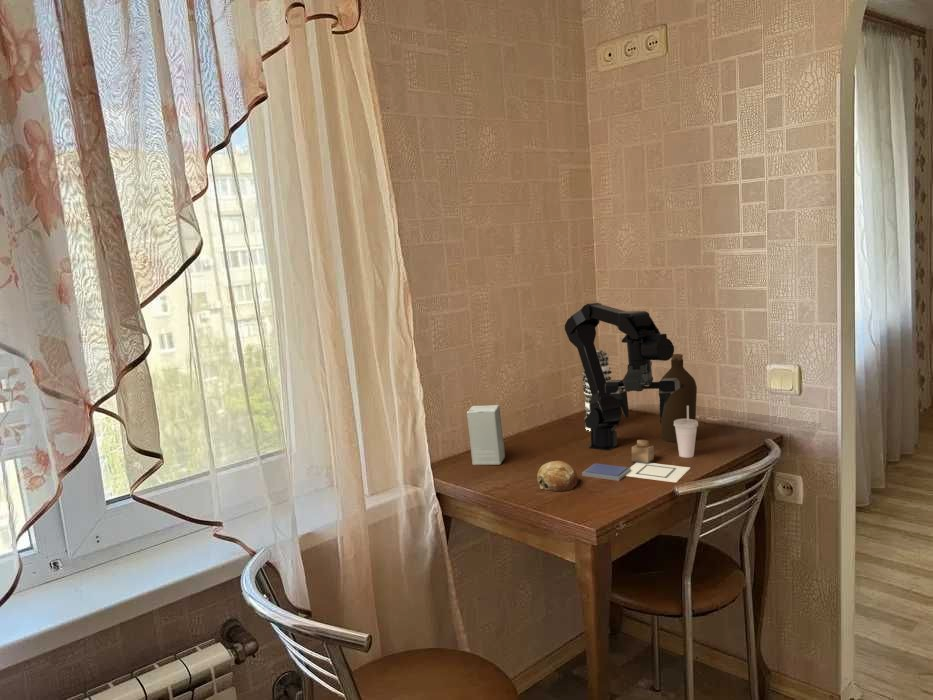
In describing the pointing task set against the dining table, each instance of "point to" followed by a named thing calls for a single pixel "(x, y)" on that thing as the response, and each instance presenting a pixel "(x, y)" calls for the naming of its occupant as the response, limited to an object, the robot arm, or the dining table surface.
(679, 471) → the sheet
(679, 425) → the smoothie
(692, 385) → the olive oil
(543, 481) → the bread roll
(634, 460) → the stamp
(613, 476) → the ink pad
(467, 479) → the dining table surface
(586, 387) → the decorative candle
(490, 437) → the skincare box
